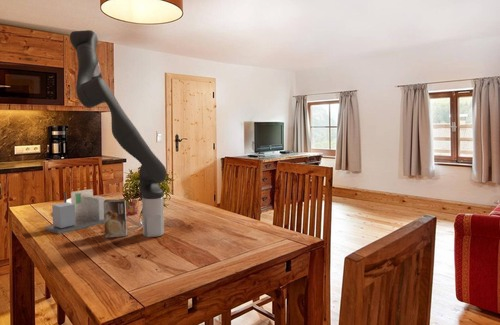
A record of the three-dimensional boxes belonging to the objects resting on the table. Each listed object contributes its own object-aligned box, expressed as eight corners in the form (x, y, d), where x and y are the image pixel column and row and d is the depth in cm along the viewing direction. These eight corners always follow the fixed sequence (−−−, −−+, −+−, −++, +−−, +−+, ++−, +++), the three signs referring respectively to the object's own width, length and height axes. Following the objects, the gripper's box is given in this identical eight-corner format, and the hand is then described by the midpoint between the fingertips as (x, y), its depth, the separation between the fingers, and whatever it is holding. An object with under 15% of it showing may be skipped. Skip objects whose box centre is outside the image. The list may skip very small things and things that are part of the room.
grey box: (60, 228, 162) (59, 196, 160) (52, 225, 166) (50, 194, 164) (75, 224, 167) (74, 193, 166) (67, 222, 172) (65, 192, 170)
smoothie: (120, 214, 195) (119, 178, 193) (132, 211, 202) (131, 176, 200) (131, 216, 191) (130, 180, 189) (142, 213, 198) (142, 178, 196)
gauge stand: (58, 234, 158) (56, 199, 157) (45, 229, 165) (43, 196, 164) (106, 222, 178) (105, 191, 176) (92, 218, 185) (91, 189, 183)
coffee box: (127, 232, 163) (126, 198, 161) (126, 236, 156) (125, 201, 155) (106, 233, 160) (105, 199, 159) (104, 238, 154) (103, 202, 152)
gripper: (74, 67, 161) (82, 94, 173) (96, 81, 157) (103, 108, 170) (87, 60, 165) (94, 87, 177) (109, 74, 161) (115, 100, 174)
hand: (98, 97), depth 173 cm, fingers open, 8 cm apart
